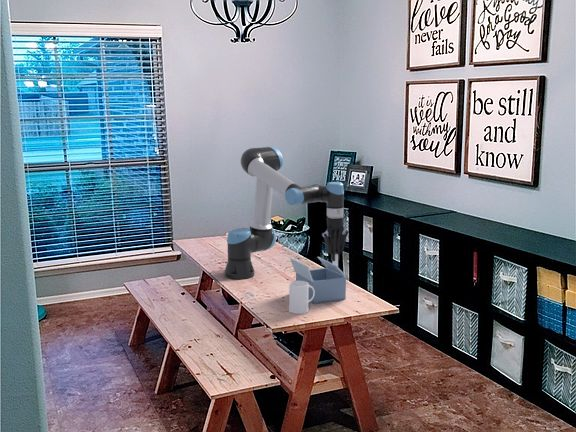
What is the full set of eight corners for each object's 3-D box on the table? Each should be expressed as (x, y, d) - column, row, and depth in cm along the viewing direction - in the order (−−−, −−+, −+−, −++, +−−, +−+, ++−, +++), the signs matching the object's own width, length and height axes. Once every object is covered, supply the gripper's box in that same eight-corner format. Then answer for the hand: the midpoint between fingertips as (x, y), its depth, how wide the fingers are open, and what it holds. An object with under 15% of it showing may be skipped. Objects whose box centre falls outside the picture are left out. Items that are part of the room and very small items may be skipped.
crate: (313, 304, 263) (313, 282, 262) (295, 292, 279) (296, 271, 278) (345, 299, 270) (346, 277, 268) (326, 288, 286) (326, 267, 284)
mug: (311, 305, 262) (311, 278, 259) (319, 311, 254) (319, 284, 252) (285, 308, 257) (285, 281, 255) (293, 315, 250) (293, 287, 247)
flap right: (335, 266, 265) (336, 265, 265) (317, 257, 281) (318, 256, 281) (345, 277, 268) (346, 276, 268) (326, 267, 284) (327, 266, 284)
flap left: (313, 281, 262) (312, 282, 261) (295, 271, 277) (294, 271, 277) (308, 266, 259) (307, 267, 259) (291, 257, 275) (289, 257, 275)
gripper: (326, 219, 265) (326, 271, 270) (351, 216, 270) (351, 267, 275) (318, 216, 272) (318, 267, 276) (343, 214, 277) (343, 263, 282)
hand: (335, 267), depth 276 cm, fingers closed
